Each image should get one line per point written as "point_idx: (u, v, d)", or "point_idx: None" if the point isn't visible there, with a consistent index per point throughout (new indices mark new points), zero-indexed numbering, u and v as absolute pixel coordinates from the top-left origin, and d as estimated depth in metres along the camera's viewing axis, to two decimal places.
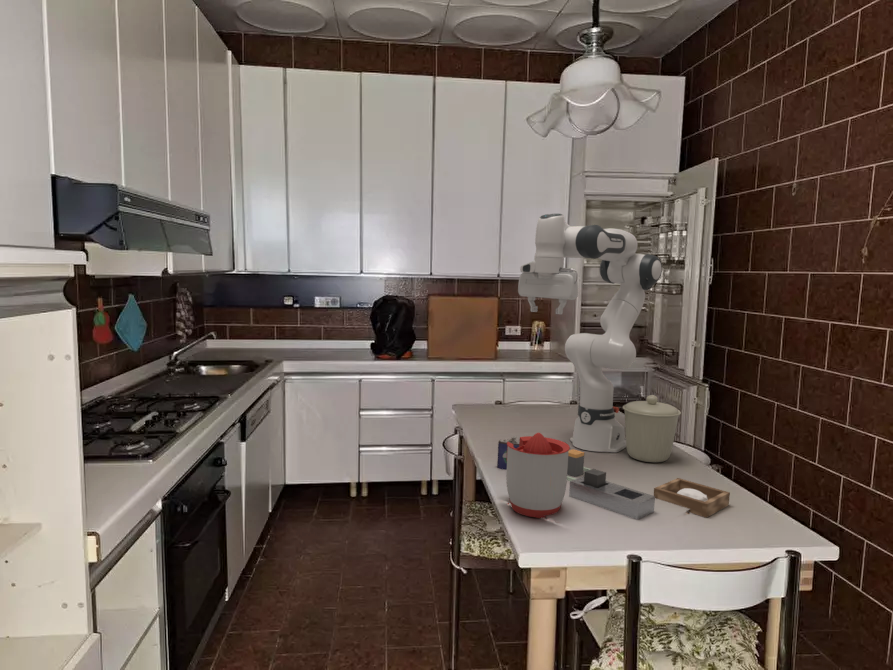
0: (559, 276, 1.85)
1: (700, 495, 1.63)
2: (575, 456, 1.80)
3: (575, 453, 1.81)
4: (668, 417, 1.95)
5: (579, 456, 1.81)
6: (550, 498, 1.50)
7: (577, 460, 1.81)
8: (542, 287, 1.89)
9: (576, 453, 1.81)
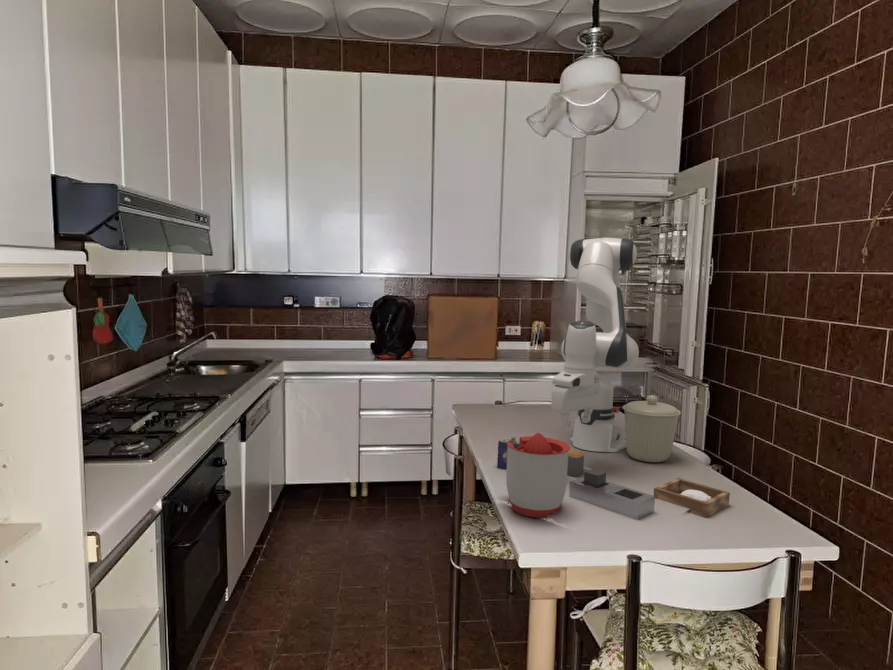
0: (594, 385, 1.83)
1: (704, 496, 1.63)
2: (575, 456, 1.80)
3: (575, 453, 1.81)
4: (668, 417, 1.95)
5: (579, 456, 1.81)
6: (550, 498, 1.50)
7: (577, 460, 1.81)
8: (581, 399, 1.79)
9: (576, 453, 1.81)
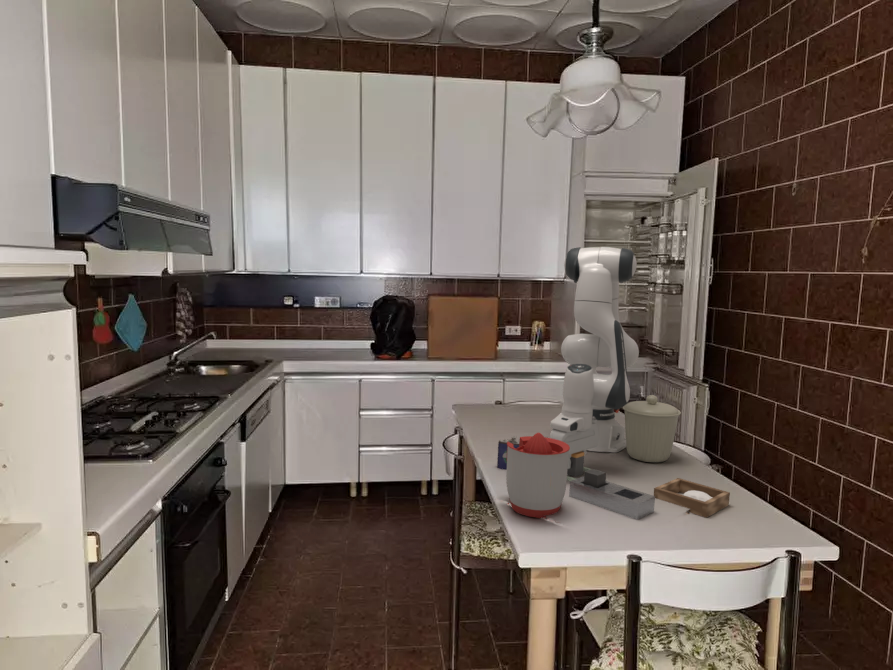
0: (591, 427, 1.84)
1: (706, 497, 1.62)
2: (575, 456, 1.80)
3: (575, 453, 1.81)
4: (668, 417, 1.95)
5: (579, 456, 1.81)
6: (550, 498, 1.50)
7: (577, 460, 1.81)
8: (578, 442, 1.81)
9: (576, 453, 1.81)
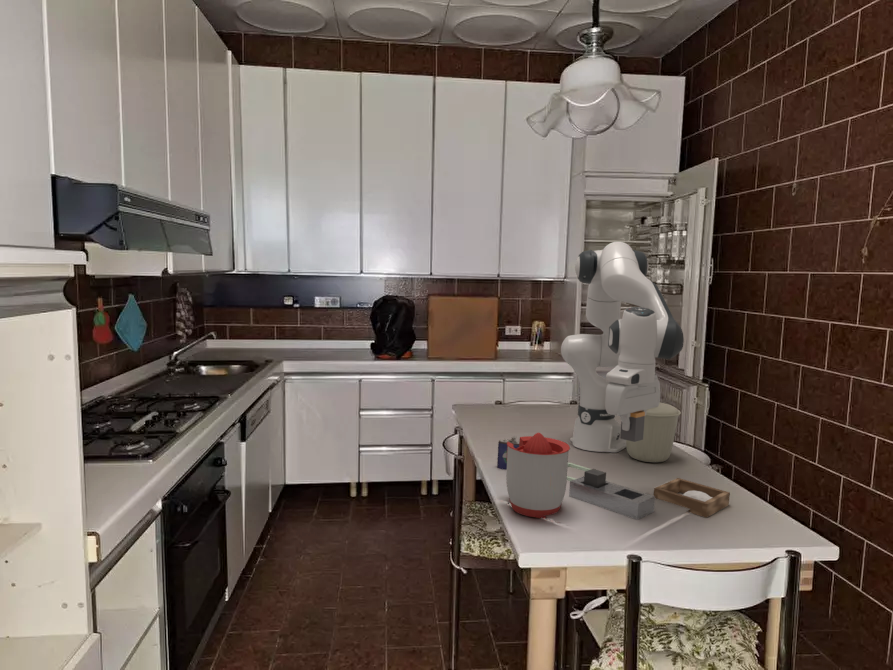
0: (652, 382, 1.56)
1: (706, 497, 1.62)
2: (635, 415, 1.52)
3: (635, 412, 1.53)
4: (668, 417, 1.95)
5: (639, 416, 1.53)
6: (550, 498, 1.50)
7: (637, 420, 1.52)
8: (639, 399, 1.53)
9: (636, 412, 1.53)
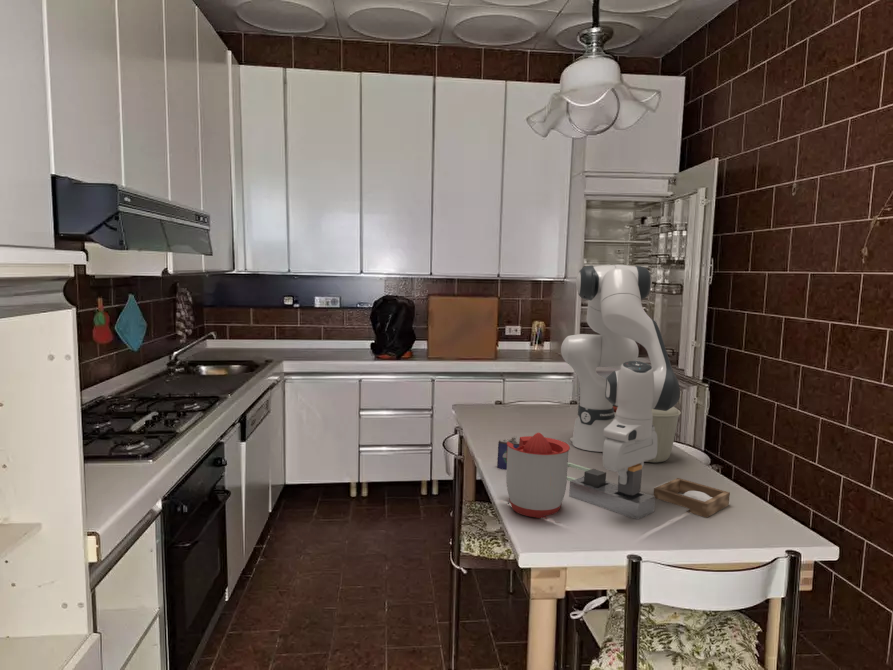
0: None
1: (706, 497, 1.62)
2: (632, 469, 1.53)
3: (632, 466, 1.55)
4: (668, 417, 1.95)
5: (637, 469, 1.54)
6: (550, 498, 1.50)
7: (634, 474, 1.54)
8: (636, 453, 1.54)
9: (633, 466, 1.55)
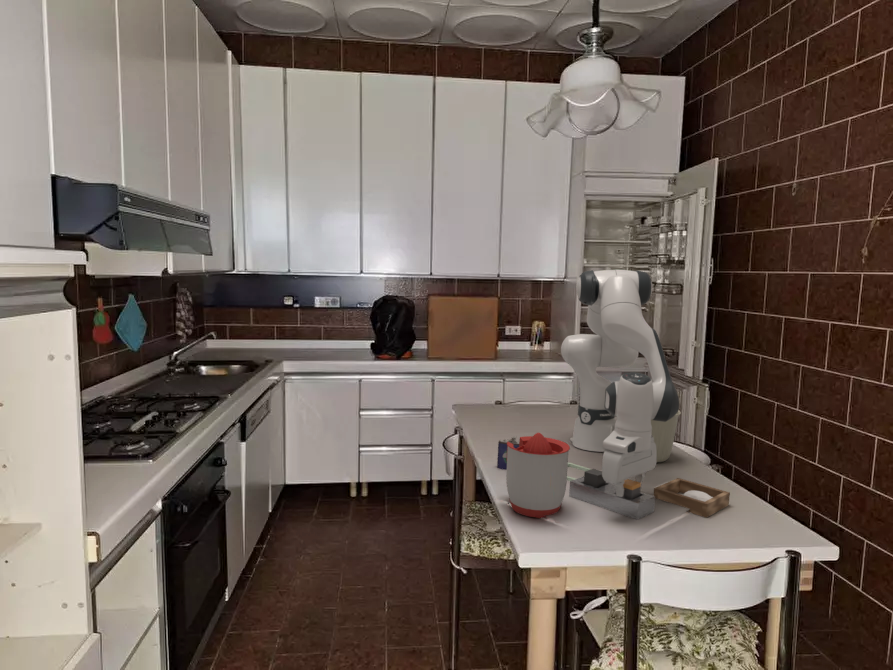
0: None
1: (707, 497, 1.62)
2: (631, 488, 1.54)
3: (630, 484, 1.55)
4: None
5: (635, 487, 1.55)
6: (550, 498, 1.50)
7: (633, 492, 1.54)
8: (635, 464, 1.54)
9: (632, 484, 1.55)
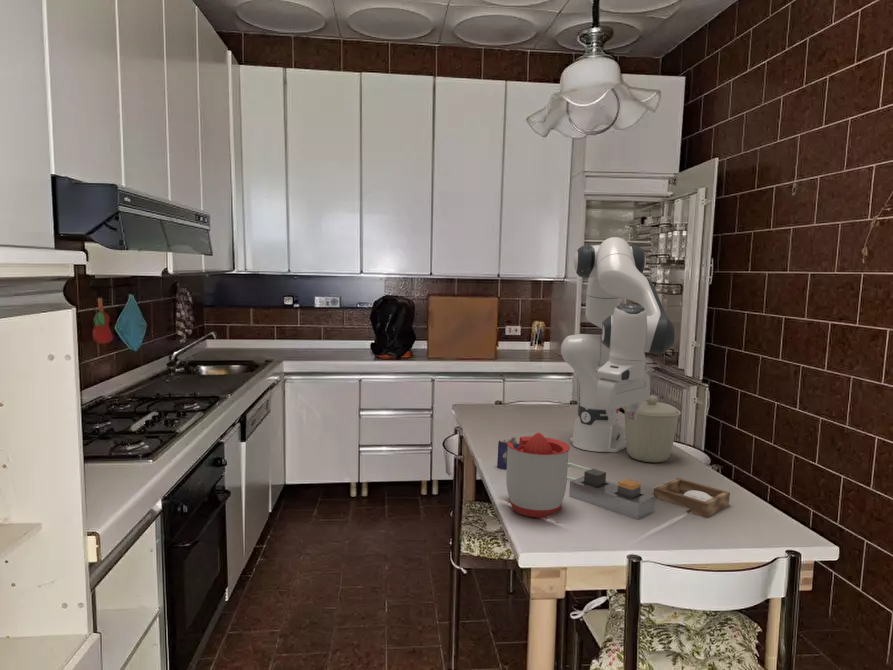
0: (642, 377, 1.61)
1: (707, 497, 1.62)
2: (631, 488, 1.54)
3: (630, 484, 1.55)
4: (668, 417, 1.95)
5: (635, 487, 1.55)
6: (550, 498, 1.50)
7: (633, 492, 1.54)
8: (629, 393, 1.57)
9: (632, 484, 1.55)
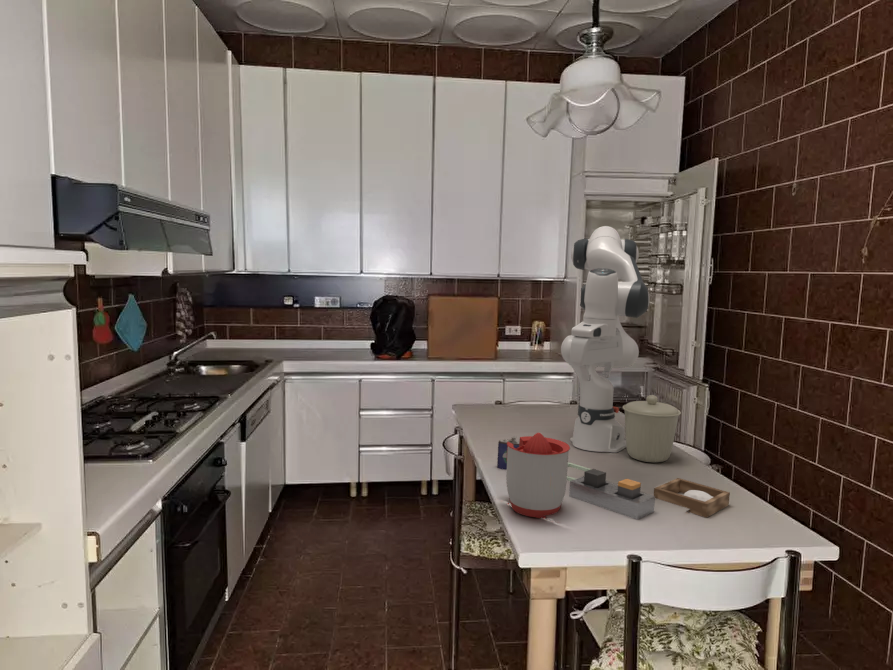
0: (615, 337, 1.72)
1: (707, 497, 1.62)
2: (631, 488, 1.54)
3: (630, 484, 1.55)
4: (668, 417, 1.95)
5: (635, 487, 1.55)
6: (550, 498, 1.50)
7: (633, 492, 1.54)
8: (602, 351, 1.68)
9: (632, 484, 1.55)
